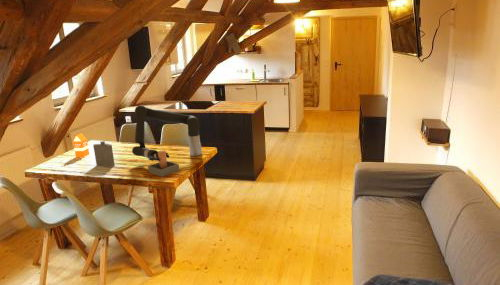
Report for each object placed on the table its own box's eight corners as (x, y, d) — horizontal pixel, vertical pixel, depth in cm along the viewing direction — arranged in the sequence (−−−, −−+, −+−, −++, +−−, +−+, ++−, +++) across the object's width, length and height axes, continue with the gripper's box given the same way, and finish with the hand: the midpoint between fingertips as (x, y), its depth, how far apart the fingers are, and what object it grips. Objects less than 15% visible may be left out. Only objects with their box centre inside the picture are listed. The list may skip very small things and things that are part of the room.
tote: (166, 166, 287) (165, 160, 286) (179, 170, 277) (178, 164, 275) (148, 172, 275) (147, 166, 274) (161, 176, 265) (160, 170, 264)
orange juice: (89, 154, 326) (85, 132, 320) (84, 157, 317) (80, 135, 312) (81, 154, 326) (77, 132, 321) (75, 157, 318) (71, 135, 312)
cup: (164, 168, 280) (162, 150, 276) (169, 170, 276) (167, 151, 272) (158, 170, 276) (156, 151, 272) (163, 172, 272) (160, 153, 268)
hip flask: (95, 165, 294) (91, 142, 289) (98, 164, 298) (95, 140, 293) (113, 166, 291) (109, 142, 285) (116, 165, 295) (112, 141, 289)
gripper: (142, 151, 276) (155, 155, 265) (158, 147, 286) (171, 150, 276) (143, 161, 278) (156, 165, 268) (159, 156, 288) (172, 160, 278)
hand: (164, 157), depth 272 cm, fingers open, 8 cm apart
